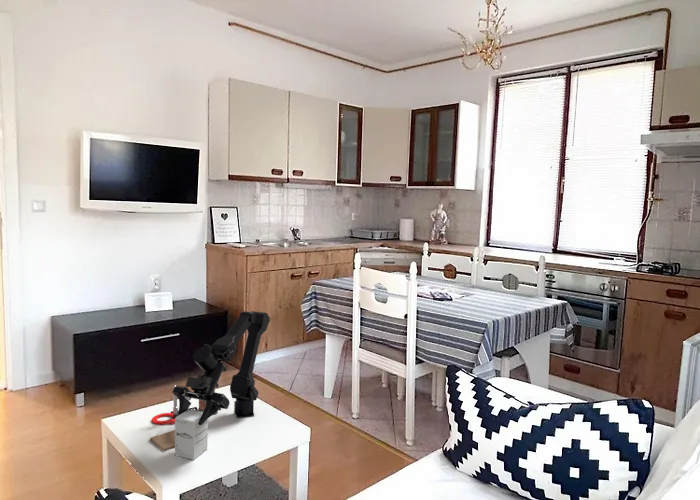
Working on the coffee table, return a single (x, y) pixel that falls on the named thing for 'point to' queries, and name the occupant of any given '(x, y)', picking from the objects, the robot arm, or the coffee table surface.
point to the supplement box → (190, 435)
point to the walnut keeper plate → (164, 440)
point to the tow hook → (168, 414)
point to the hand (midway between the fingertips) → (188, 422)
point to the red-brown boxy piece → (204, 405)
